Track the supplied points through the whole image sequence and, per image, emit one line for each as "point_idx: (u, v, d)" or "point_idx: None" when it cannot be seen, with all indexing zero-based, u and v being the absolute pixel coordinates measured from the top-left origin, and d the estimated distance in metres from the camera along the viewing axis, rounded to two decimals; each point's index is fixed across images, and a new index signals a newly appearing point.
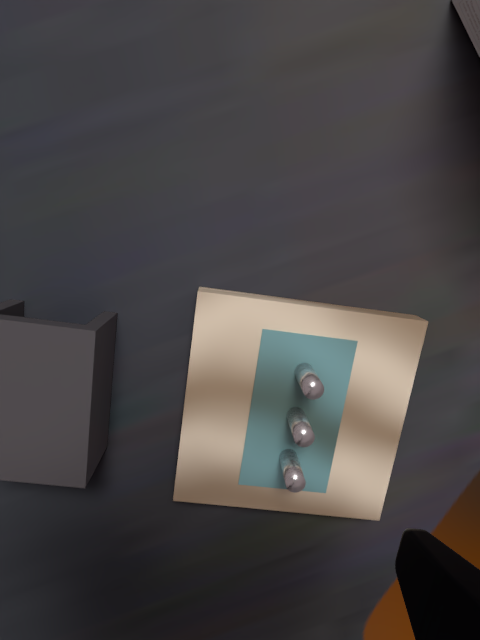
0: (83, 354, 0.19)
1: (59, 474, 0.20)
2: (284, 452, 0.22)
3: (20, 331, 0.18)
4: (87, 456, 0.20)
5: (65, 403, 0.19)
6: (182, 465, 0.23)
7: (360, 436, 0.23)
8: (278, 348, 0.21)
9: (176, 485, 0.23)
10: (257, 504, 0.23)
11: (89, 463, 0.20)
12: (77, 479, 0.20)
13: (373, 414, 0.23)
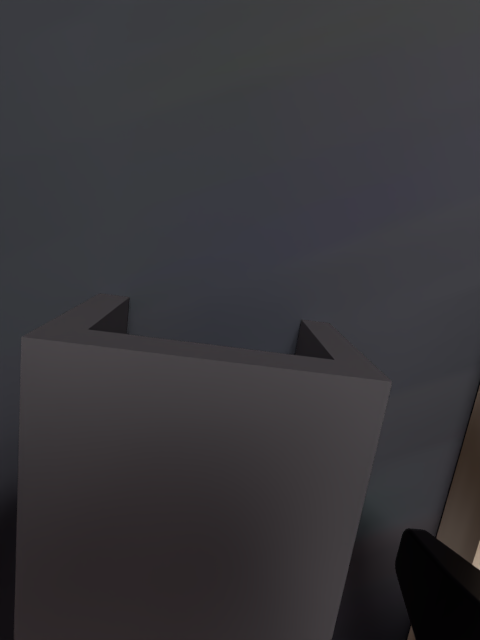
0: (348, 446, 0.07)
1: None
2: None
3: (178, 382, 0.06)
4: None
5: (281, 571, 0.07)
6: None
7: None
8: None
9: None
10: None
11: None
12: None
13: None
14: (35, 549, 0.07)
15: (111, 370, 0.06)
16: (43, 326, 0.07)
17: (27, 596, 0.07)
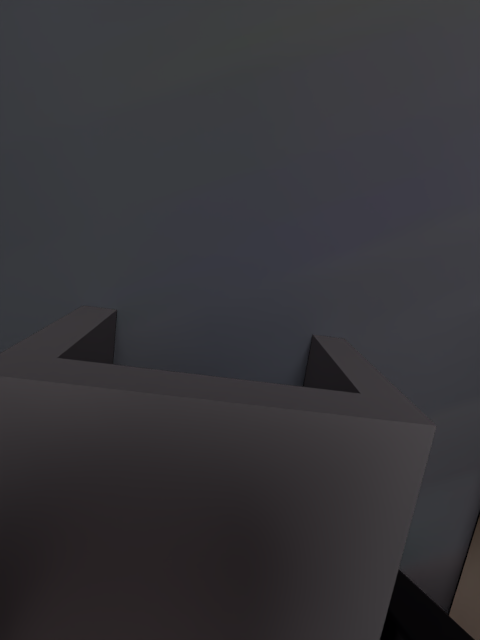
0: (380, 504, 0.05)
1: None
2: None
3: (168, 428, 0.05)
4: None
5: None
6: None
7: None
8: None
9: None
10: None
11: None
12: None
13: None
14: None
15: (82, 414, 0.05)
16: (0, 355, 0.05)
17: None
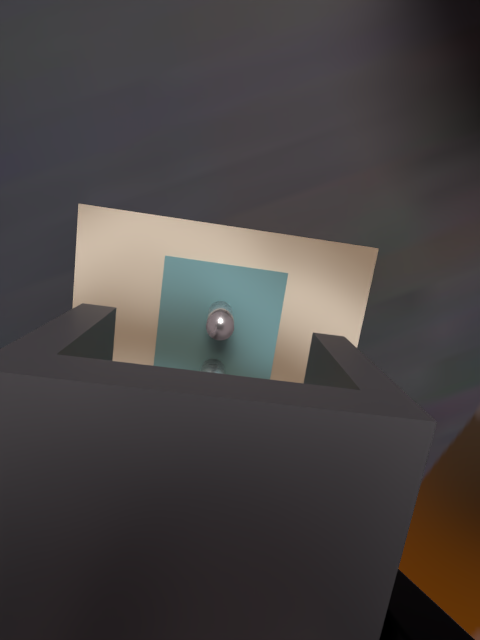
0: (380, 500, 0.05)
1: None
2: None
3: (167, 425, 0.05)
4: None
5: None
6: None
7: None
8: (186, 281, 0.17)
9: None
10: None
11: None
12: None
13: None
14: None
15: (82, 409, 0.05)
16: (0, 351, 0.05)
17: None
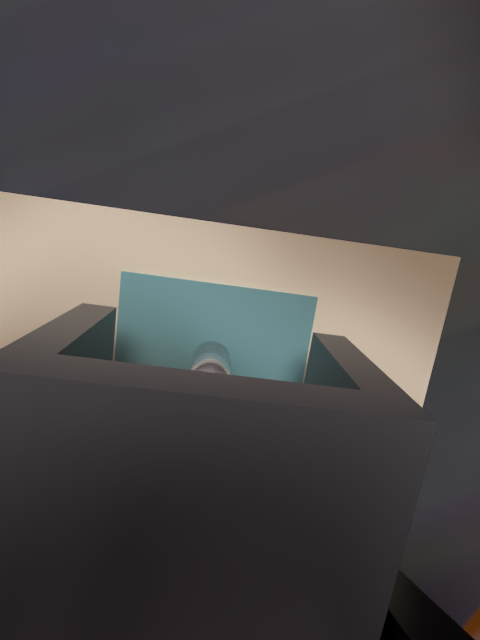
0: (380, 500, 0.05)
1: None
2: None
3: (168, 424, 0.05)
4: None
5: None
6: None
7: None
8: (156, 311, 0.11)
9: None
10: None
11: None
12: None
13: None
14: None
15: (81, 409, 0.05)
16: (0, 351, 0.05)
17: None
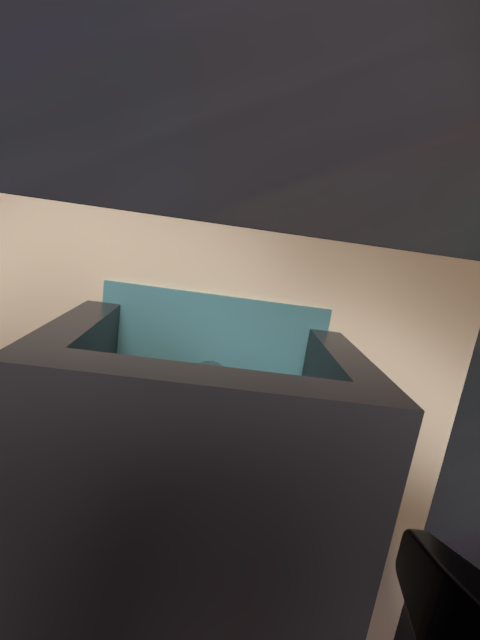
0: (371, 485, 0.06)
1: None
2: None
3: (170, 413, 0.05)
4: None
5: (291, 628, 0.06)
6: None
7: None
8: (145, 327, 0.09)
9: None
10: None
11: None
12: None
13: None
14: (4, 605, 0.06)
15: (90, 399, 0.05)
16: (12, 344, 0.06)
17: None
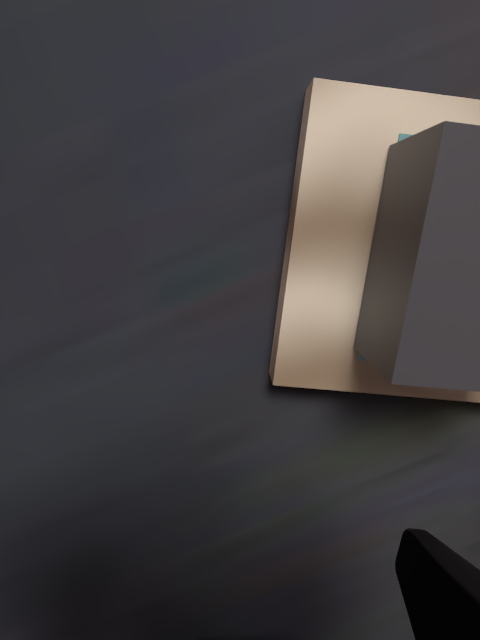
0: None
1: None
2: None
3: None
4: None
5: None
6: (285, 335, 0.17)
7: None
8: None
9: (277, 363, 0.18)
10: (381, 388, 0.18)
11: None
12: None
13: None
14: (428, 251, 0.13)
15: None
16: (434, 126, 0.12)
17: (418, 281, 0.13)
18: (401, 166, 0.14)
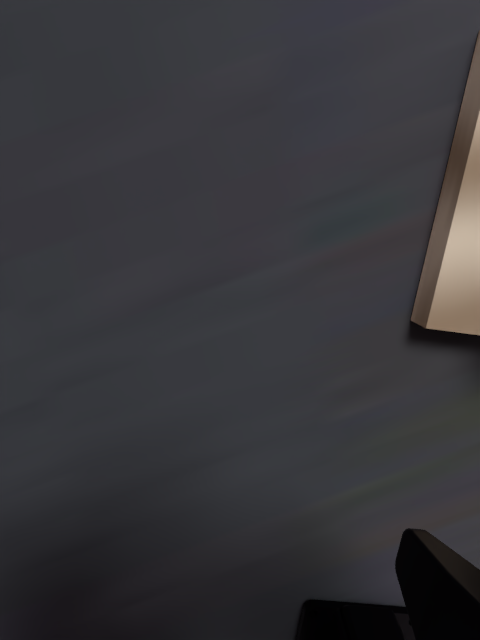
0: None
1: None
2: None
3: None
4: None
5: None
6: (444, 276, 0.17)
7: None
8: None
9: (433, 306, 0.17)
10: None
11: None
12: None
13: None
14: None
15: None
16: None
17: None
18: None
